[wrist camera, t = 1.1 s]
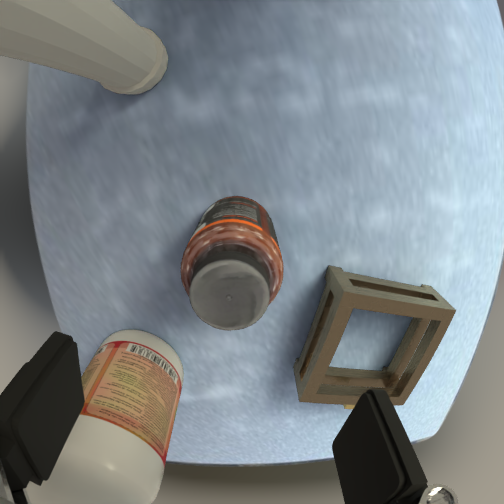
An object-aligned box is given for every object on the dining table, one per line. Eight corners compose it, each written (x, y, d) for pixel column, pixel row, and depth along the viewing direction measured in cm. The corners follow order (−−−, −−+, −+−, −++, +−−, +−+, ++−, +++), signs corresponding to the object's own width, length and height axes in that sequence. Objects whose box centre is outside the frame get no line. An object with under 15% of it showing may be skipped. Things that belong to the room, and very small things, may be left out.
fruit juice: (177, 326, 29) (94, 641, 3) (191, 396, 32) (154, 643, 6) (91, 324, 29) (-44, 562, 3) (114, 391, 32) (38, 601, 6)
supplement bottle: (188, 211, 25) (147, 264, 15) (257, 183, 25) (264, 218, 14) (217, 274, 27) (200, 358, 17) (283, 250, 27) (305, 324, 16)
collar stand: (328, 265, 27) (344, 291, 22) (430, 286, 28) (456, 310, 23) (290, 372, 31) (296, 407, 26) (385, 380, 32) (399, 410, 27)
